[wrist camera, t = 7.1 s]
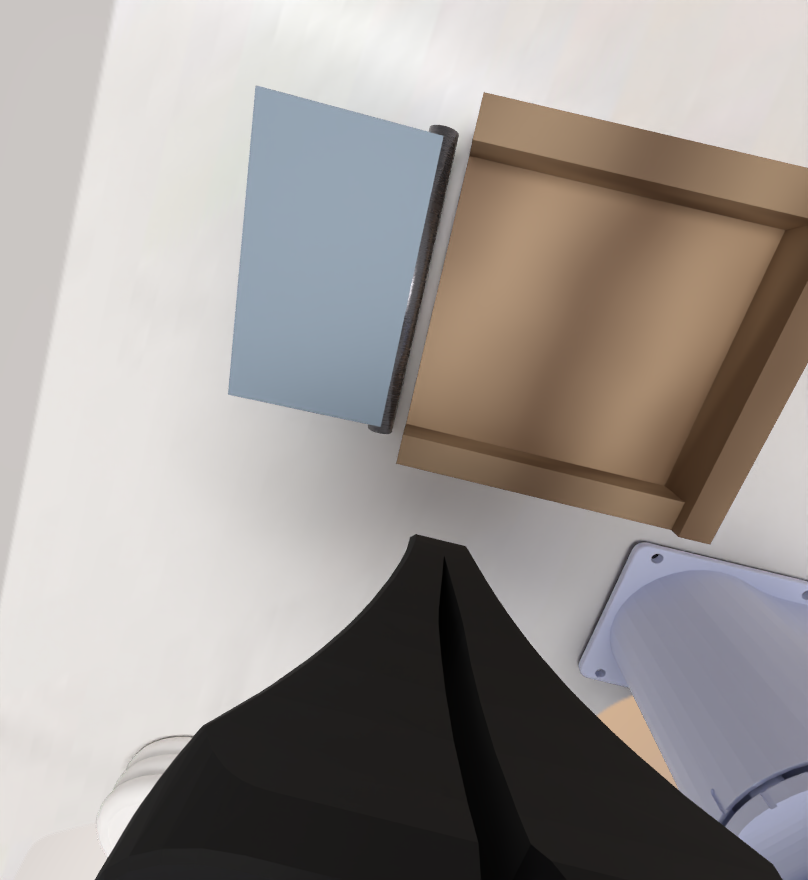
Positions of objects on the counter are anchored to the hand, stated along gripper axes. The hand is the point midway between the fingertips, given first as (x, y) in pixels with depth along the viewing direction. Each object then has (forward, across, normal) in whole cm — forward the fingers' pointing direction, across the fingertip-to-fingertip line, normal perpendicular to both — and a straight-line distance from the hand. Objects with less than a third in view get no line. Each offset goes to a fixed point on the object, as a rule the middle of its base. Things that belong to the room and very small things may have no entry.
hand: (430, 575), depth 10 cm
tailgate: (+8, +2, -6) cm, 10 cm away
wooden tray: (+9, -4, -6) cm, 12 cm away
